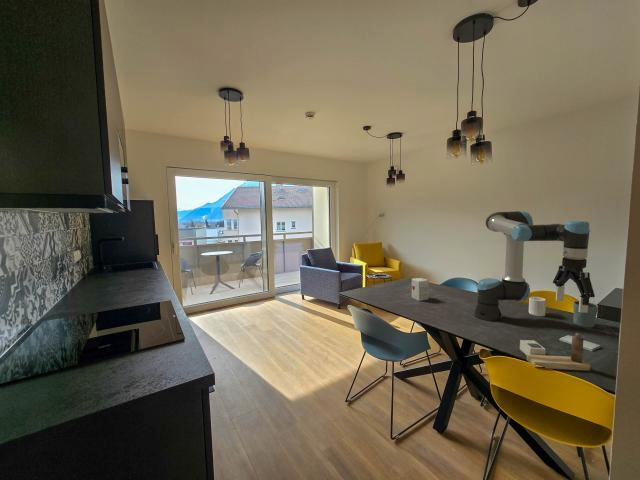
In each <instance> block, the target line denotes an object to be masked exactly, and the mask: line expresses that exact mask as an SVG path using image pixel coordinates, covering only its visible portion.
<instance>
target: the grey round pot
mask: <svg viewBox="0 0 640 480" xmlns="http://www.w3.org/2000/svg"><path fill="white" fill-rule="evenodd" d="M572 304H573V305H572V308H573V313H572V314H573V316H572V317H573V318H572V319H573V320H572V321H573V324H575V325H576V326H578V327H584V328H594V327H595V325H596V319H597V314H598V311H599V305H598V304H596V303H593V302H589V305H588V312H587V313H586V312H578V311H579V300H575V301H574V300H573V303H572Z"/></svg>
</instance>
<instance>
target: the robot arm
mask: <svg viewBox="0 0 640 480" xmlns="http://www.w3.org/2000/svg"><path fill="white" fill-rule="evenodd" d="M533 221H534V220H533V218H532V215H531V214H530V213H529V212H527V211H521V210H520V211H519V210H517V211H498V212H493V213H491V214H489V215H488V216H487V217H486V219H485V226H486V228H487V229H488V230H490V231H491V232H495V233H499V232H500V233H503V235H504V236H505V237H506V239H505V241H506V242H505V243H506V244H505V264H504V265H505V270H504V276H502V277H501V281H500V279H498V278H489V277H487V278H482V279H479V280H478V282H477V286H476V288H477V290H476V291H477V292H476V293H477V295H476V296H477V297H476V299H477V301H476V305H475V307H474V308H473V309H474V310H473V316H474V317H476V318H478V319H481V320H484V321H489V322H499V321H501V320H502V319H503V313H502V310H501V308H500V301H501V302H502V301H504V302H507V301H508V302H524V301H526V300H527V299H529V298H530V294H531V288H530V285H529V283H528V282H526V281H527V280H526V279H525V278H524V277H523V275H524V274H523V272H524V247H525V244H524V243H525V242H563V245H562V247H563V250H562V259H561V265H559V266H558V270H557V273H556V274H555V276H554V278H553V281H552V284H553V285H555V286H556V287H555V288H556V289H555V301H557V302H564V300H565V284H566V283H567V282H568V281H569V280H572V282H574V283H575V285H576V286H577V288H578V289H577V290H578V291H579V293H580V295H579V300H578V301H579V311H578V312H586V313H587V312H588V305H589V303H590V298H595V297H596V295H595V291H594V288H593V284H592V282H591V273H590V272H587V271H586V272H585V271H584V269H586V268H587V264H588V263H587V261H588V260H587V259H586V258H588V253H589V252H588V250H589V242H590V241H589V239H590V232H591V230H590V222H589V221H586V220H567V221H566V222H565V223H564V224H561V223H551V224H534V222H533Z"/></svg>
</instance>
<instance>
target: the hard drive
mask: <svg viewBox="0 0 640 480" xmlns="http://www.w3.org/2000/svg"><path fill="white" fill-rule="evenodd" d="M572 336H573V335H569V334H568V335H565V336H562V337H560V338H559V341H560V342H564V343H567V344H570V345H572ZM600 348H602V345H600V344H598V343H594V342H590V341H587V340H584V341H583V350H584V349H585V350H587V351H590V352H594V351H596V350H598V349H600Z"/></svg>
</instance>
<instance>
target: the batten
mask: <svg viewBox="0 0 640 480" xmlns="http://www.w3.org/2000/svg"><path fill="white" fill-rule="evenodd" d="M526 361H527V362H528V363H529V364H530V363H532V364H535V365H539V366H542V367H545V368H544V369H550V370H551V369H555V370H568V371H569V370H572V371H588V372H590V370H591V364H589V363H588V362H587V361H586V360H584V359H582V363H577V362H574V361H572V360H571V356H565V355H563V356H562V355H546V354H545V355H526ZM532 364H531V365H532Z"/></svg>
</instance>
